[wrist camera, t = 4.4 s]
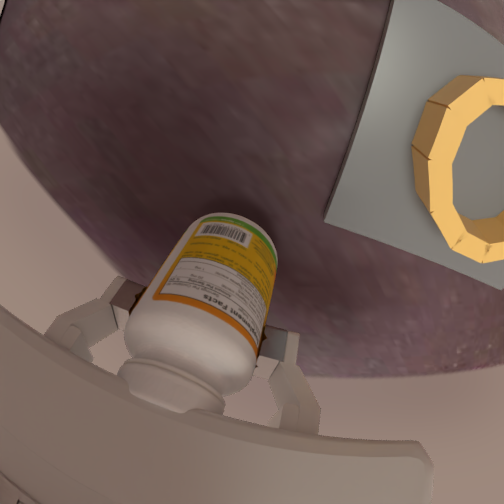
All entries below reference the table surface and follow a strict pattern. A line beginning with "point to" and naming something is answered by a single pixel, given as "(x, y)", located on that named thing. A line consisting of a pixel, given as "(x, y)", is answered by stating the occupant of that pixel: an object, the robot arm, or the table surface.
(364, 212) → the plate
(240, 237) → the supplement bottle
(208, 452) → the robot arm
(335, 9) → the table surface
